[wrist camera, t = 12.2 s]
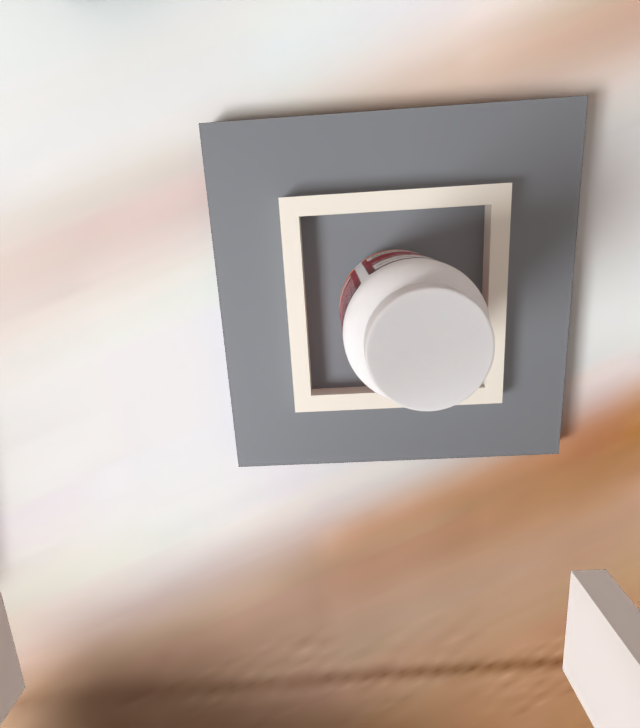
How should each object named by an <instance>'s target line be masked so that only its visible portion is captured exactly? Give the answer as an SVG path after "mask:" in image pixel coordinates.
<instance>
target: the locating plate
mask: <svg viewBox="0 0 640 728" xmlns="http://www.w3.org/2000/svg"><path fill="white" fill-rule="evenodd" d="M587 100H588V96H574V97H560V98H546V99H532V100H518V101H504V102H490V103H476V104H462V105H448V106H434V107H420V108H406V109H392V110H378V111H364V112H350V113H336V114H322V115H308V116H294V117H280V118H267V119H253V120H239V121H225V122H211V123H199V130H200V139H201V147H202V156H203V164H204V173H205V181H206V190H207V199H208V207H209V216H210V224H211V233H212V241H213V250H214V259H215V267H216V276H217V284H218V293H219V301H220V310H221V318H222V327H223V336H224V344H225V353H226V361H227V370H228V378H229V387H230V396H231V404H232V413H233V421H234V430H235V438H236V447H237V455H238V464H239V467H246V466H270V465H295V464H319V463H344V462H368V461H393V460H417V459H441V458H466V457H490V456H515V455H539V454H559V443H560V431H561V418H562V406H563V394H564V382H565V369H566V357H567V345H568V333H569V320H570V308H571V296H572V284H573V272H574V259H575V247H576V235H577V223H578V210H579V198H580V186H581V174H582V161H583V149H584V137H585V125H586V113H587ZM395 249H398V250H408V251H412V252H415V253H418V254H421V255H424V256H426V257H429V258H432V259H435V260H438V261H441V262H443V263H446V264H448V265H450V266H452V267H454V268H456V269H457V270H459V271H461V272H462V273H463V274H465V275H466V276H467V277H468V278H469V279H470V280H471V281H472V282H473V283H474V284H475V285H476V287H477V288H478V290H479V291H480V293H481V294H482V296H483V298H484V300H485V303H486V305H487V308H488V312H489V317H490V323H491V325H492V329H493V333H494V338H495V354H494V359H493V363H492V366H491V369H490V371H489V373H488V375H487V377H486V379H485V380H484V382H483V383H482V384H481V386H480V387H479V388H478V389H477V390H476V391H475V392H474V393H473V394H472V395H471V396H470V397H468V398H467V399H465V400H464V401H462V402H460V403H459V404H457V405H455V406H452V407H449V408H447V409H442V410H438V411H416V410H412V409H408V408H405V407H402V406H400V405H398V404H396V403H394V402H393V401H391V400H390V399H388V398H385V397H383V396H381V395H379V394H378V393H376V392H374V391H373V390H372V389H370V388H369V387H368V386H367V385H365V384H364V383H363V382H362V381H361V380H360V378H359V377H358V376H357V375H356V373H355V372H354V370H353V369H352V367H351V365H350V363H349V361H348V358H347V355H346V352H345V348H344V344H343V335H342V328H341V320H340V313H339V302H340V296H341V292H342V288H343V286H344V283H345V281H346V279H347V277H348V276H349V274H350V273H351V271H352V270H353V269H354V268H355V267H356V266H357V265H358V264H359V263H360V262H362V261H363V260H364V259H366V258H368V257H369V256H371V255H373V254H375V253H378V252H382V251H386V250H395Z"/></svg>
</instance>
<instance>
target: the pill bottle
mask: <svg viewBox="0 0 640 728" xmlns="http://www.w3.org/2000/svg"><path fill="white" fill-rule="evenodd" d="M339 313H340V320H341V328H342V335H343V344H344V348H345V352H346V355H347V358H348V361H349V363H350V365H351V367H352V369H353V370H354V372H355V373H356V375H357V376H358V377H359V378H360V380H361V381H362V382H363V383H364V384H365V385H367V386H368V387H369V388H370V389H372V390H373V391H374V392H376V393H378V394H379V395H381V396H383V397H385V398H388V399H390V400H391V401H393V402H394V403H396V404H398V405H400V406H402V407H405V408H408V409H412V410H416V411H438V410H442V409H447V408H449V407H452V406H455V405H457V404H459V403H460V402H462V401H464V400H465V399H467V398H468V397H470V396H471V395H472V394H473V393H474V392H475V391H476V390H477V389H478V388H479V387H480V386H481V384H482V383H483V382H484V380H485V379H486V377H487V375H488V373H489V371H490V369H491V366H492V363H493V359H494V354H495V338H494V333H493V329H492V325H491V323H490V317H489V312H488V308H487V305H486V303H485V300H484V298H483V296H482V294H481V293H480V291H479V290H478V288H477V287H476V285H475V284H474V283H473V282H472V281H471V280H470V279H469V278H468V277H467V276H466V275H465V274H463V273H462V272H461V271H459V270H457V269H456V268H454V267H452V266H450V265H448V264H446V263H443V262H441V261H438V260H435V259H432V258H429V257H426V256H424V255H421V254H418V253H415V252H412V251H408V250H398V249H395V250H386V251H382V252H378V253H375V254H373V255H371V256H369V257H368V258H366V259H364V260H363V261H362V262H360V263H359V264H358V265H357V266H356V267H355V268H354V269H353V270H352V271H351V273H350V274H349V276H348V277H347V279H346V281H345V283H344V286H343V288H342V292H341V296H340V302H339Z"/></svg>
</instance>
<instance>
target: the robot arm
mask: <svg viewBox="0 0 640 728" xmlns="http://www.w3.org/2000/svg"><path fill="white" fill-rule="evenodd" d="M563 671H564V673H565V675H566V677H567V678H568V680H569V682H570V684H571V686H572V688H573V689H574V691H575V693H576V695H577V697H578V699H579V701H580V702H581V704H582V706H583V708H584V710H585V712H586V713H587V715H588V717H589V719H590V721H591V723H592V725H593V726H594V728H640V610H639V609H638V608H637V607H636V606H635V604H634V603H633V602H632V601H631V600H630V598H629V597H628V596H627V595H626V593H625V592H624V591H623V590H622V589H621V587H620V586H619V585H618V584H617V583H616V581H615V580H614V579H613V578H612V577H611V575H610V574H609V573H608V572H607V571H606V569H604V570H578V571H571V579H570V590H569V601H568V613H567V624H566V635H565V646H564V657H563ZM24 689H25V683H24V679H23V676H22V672H21V668H20V664H19V660H18V656H17V653H16V649H15V645H14V641H13V637H12V633H11V629H10V626H9V622H8V618H7V614H6V610H5V606H4V603H3V599H2V595H1V593H0V725H1V724H2V722H3V721H4V719H5V717H6V716H7V714H8V713H9V711H10V710H11V708H12V707H13V705H14V704H15V702H16V701H17V699H18V698H19V696H20V695H21V693H22V692H23V690H24Z"/></svg>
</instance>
